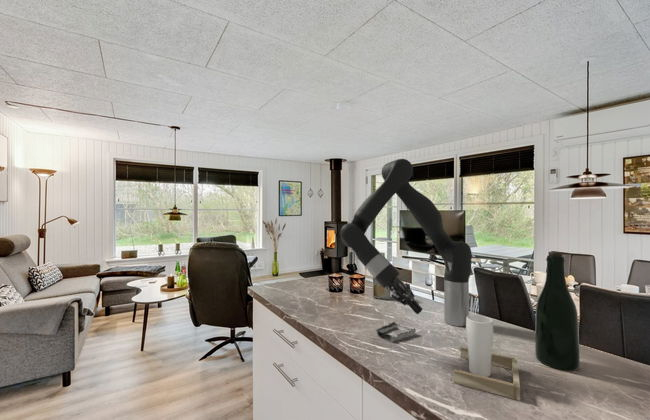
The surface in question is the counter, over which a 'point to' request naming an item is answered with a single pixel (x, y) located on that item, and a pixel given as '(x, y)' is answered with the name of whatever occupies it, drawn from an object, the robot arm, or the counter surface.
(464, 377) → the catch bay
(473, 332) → the drinking glass
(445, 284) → the robot arm
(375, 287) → the coffee box
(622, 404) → the counter surface
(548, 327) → the beer bottle
